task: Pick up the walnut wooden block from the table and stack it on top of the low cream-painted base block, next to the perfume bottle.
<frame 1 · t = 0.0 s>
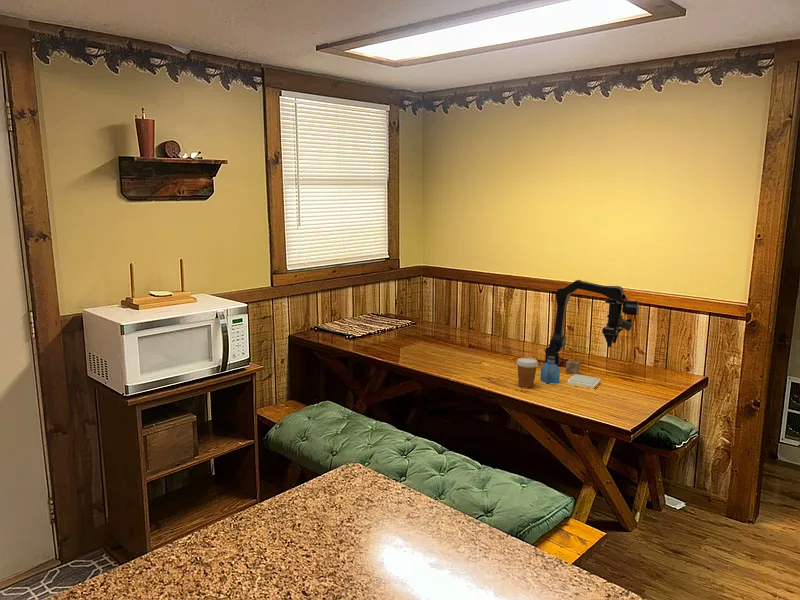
hand: (612, 345, 295), 15 cm above the table, tool pointing down, fingers open, 9 cm apart
base: (583, 384, 282), on the table
disposable coffee cup: (525, 386, 278), on the table
perfume bottle: (549, 382, 284), on the table
block: (572, 373, 297), on the table
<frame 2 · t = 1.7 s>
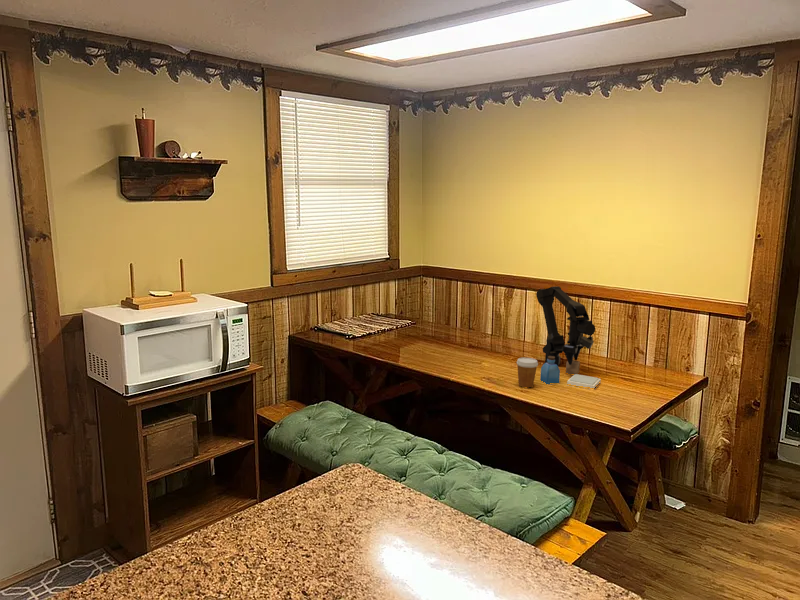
hand: (573, 362, 297), 6 cm above the table, tool pointing down, fingers open, 9 cm apart
nothing on the table moved.
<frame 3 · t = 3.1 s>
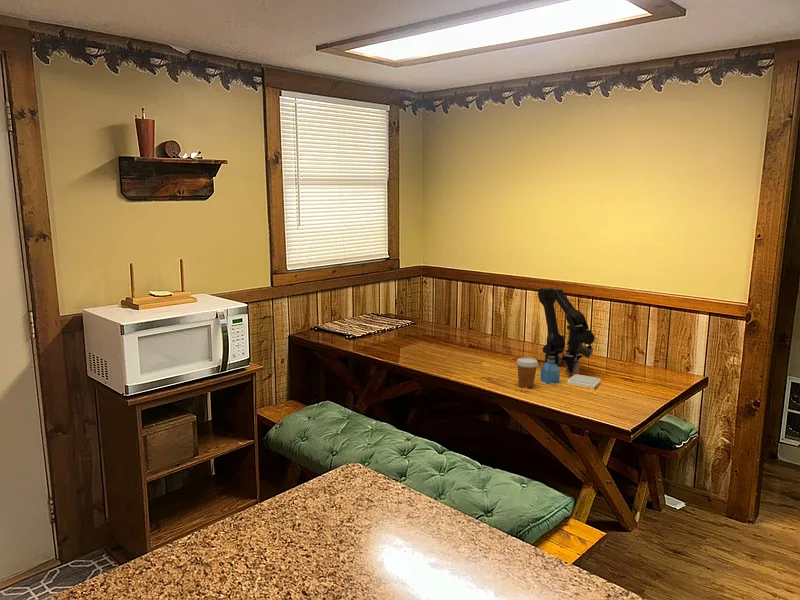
hand: (572, 371, 297), 1 cm above the table, tool pointing down, fingers closed on block, 5 cm apart
block: (572, 373, 297), on the table, touching gripper
everything else where it was.
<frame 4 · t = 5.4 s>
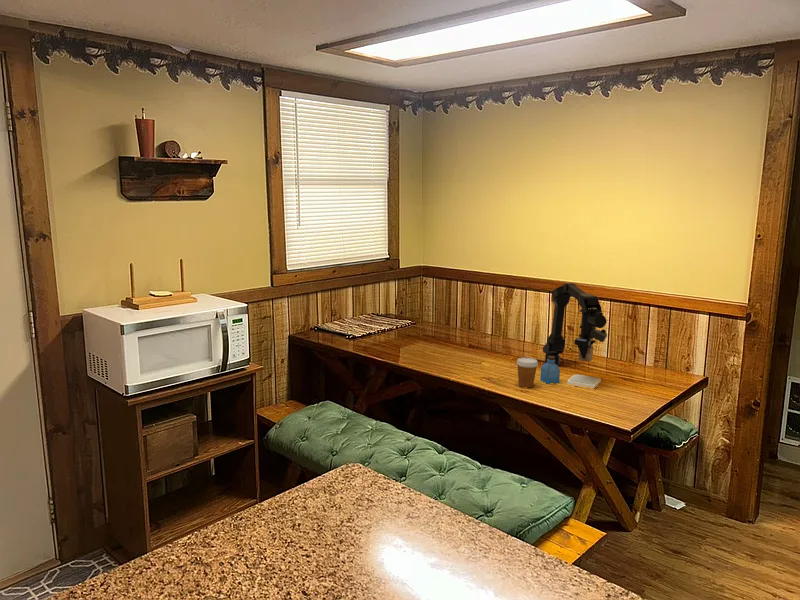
hand: (585, 357, 280), 12 cm above the table, tool pointing down, fingers closed on block, 5 cm apart
block: (585, 359, 281), point 11 cm above the table, touching gripper
everything else where it was.
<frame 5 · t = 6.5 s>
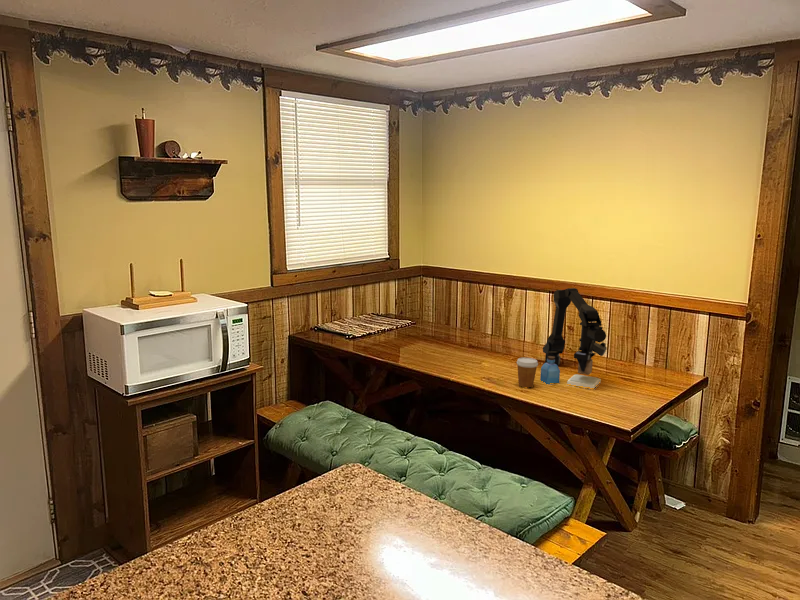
hand: (584, 370, 281), 7 cm above the table, tool pointing down, fingers closed on block, 5 cm apart
block: (584, 372, 281), point 5 cm above the table, touching gripper
everything else where it was.
when the fingers open (5 cm above the table, at t = 7.6 s): block drops 1 cm, resting on base.
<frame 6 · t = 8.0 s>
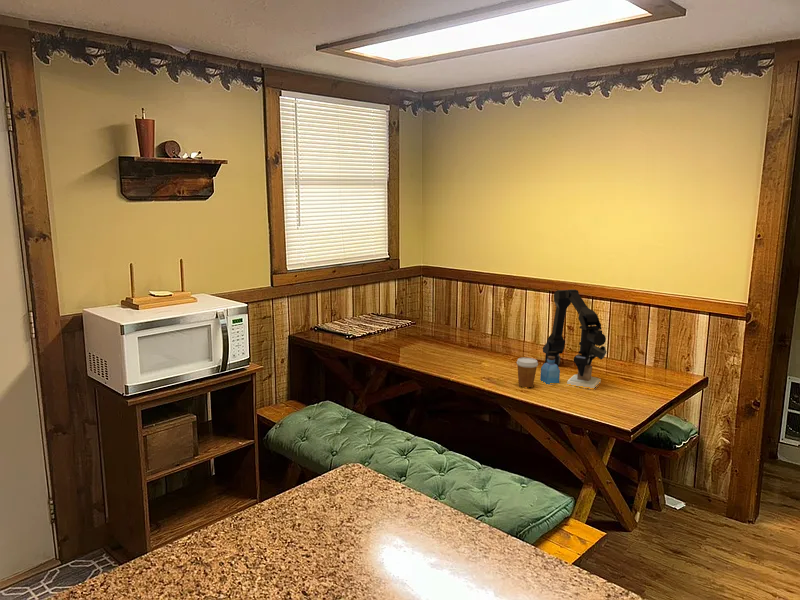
hand: (584, 373, 281), 5 cm above the table, tool pointing down, fingers open, 9 cm apart
block: (584, 378, 282), point 2 cm above the table, touching base
everything else where it was.
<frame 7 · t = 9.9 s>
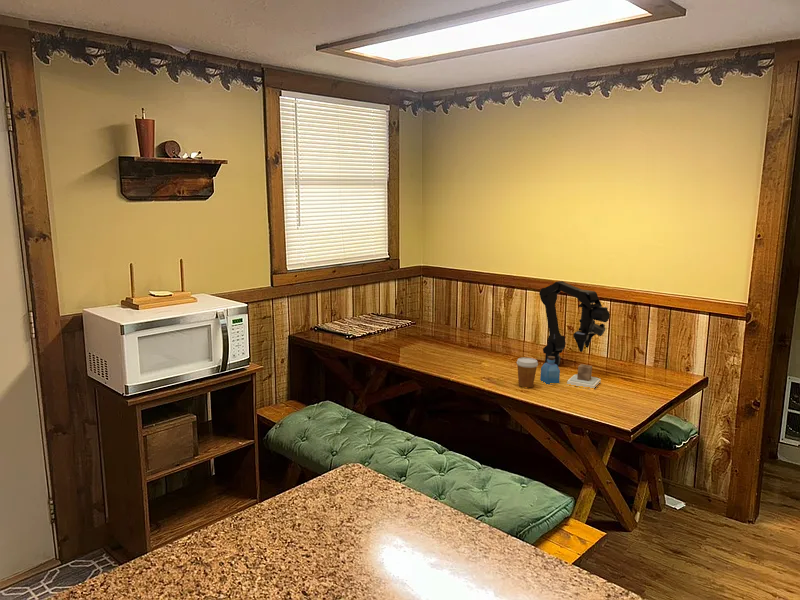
hand: (584, 349, 294), 12 cm above the table, tool pointing down, fingers open, 9 cm apart
nothing on the table moved.
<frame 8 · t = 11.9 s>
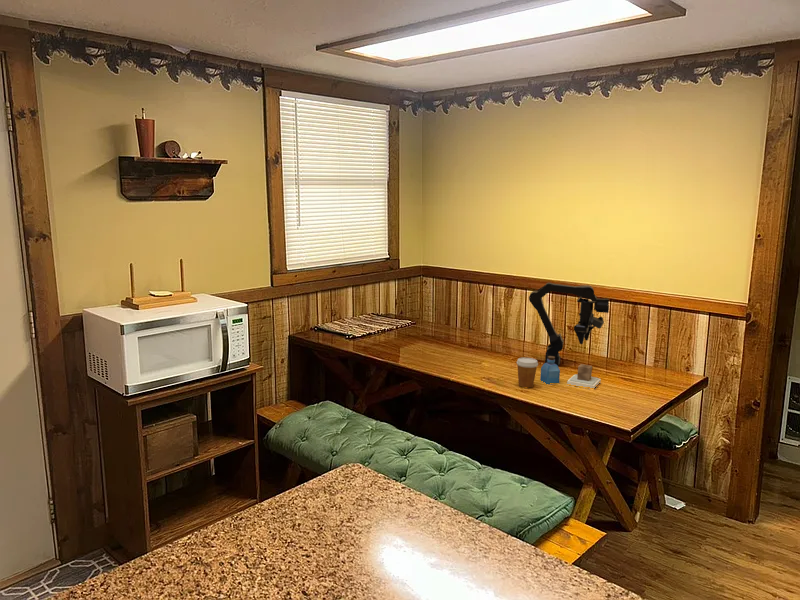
hand: (583, 342, 305), 13 cm above the table, tool pointing down, fingers open, 9 cm apart
nothing on the table moved.
at the end: block inside the target area on the base (0.0 cm from its centre), point 2.5 cm above the base's base; block tilted 0°; the gripper is holding nothing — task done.
